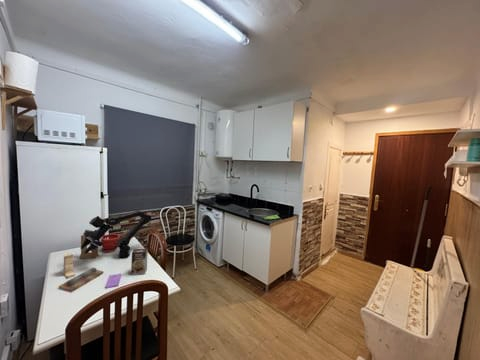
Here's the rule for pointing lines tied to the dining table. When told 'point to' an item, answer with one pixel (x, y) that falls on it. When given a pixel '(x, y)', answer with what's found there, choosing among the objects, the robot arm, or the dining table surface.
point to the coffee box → (139, 261)
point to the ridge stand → (80, 280)
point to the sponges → (113, 281)
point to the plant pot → (110, 242)
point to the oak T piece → (68, 266)
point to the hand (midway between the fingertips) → (82, 250)
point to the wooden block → (89, 254)
